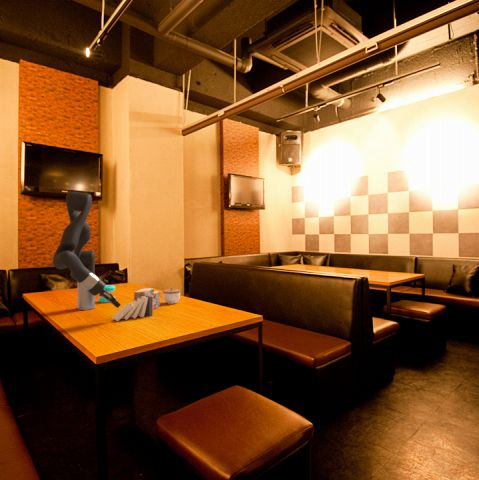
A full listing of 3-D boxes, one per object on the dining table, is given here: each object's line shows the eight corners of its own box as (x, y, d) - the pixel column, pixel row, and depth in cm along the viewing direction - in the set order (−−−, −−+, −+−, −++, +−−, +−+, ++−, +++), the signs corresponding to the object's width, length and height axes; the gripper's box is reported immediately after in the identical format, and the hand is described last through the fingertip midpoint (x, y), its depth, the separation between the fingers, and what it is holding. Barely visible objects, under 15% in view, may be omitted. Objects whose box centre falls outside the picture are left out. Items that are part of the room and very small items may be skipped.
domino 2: (120, 316, 165) (133, 300, 169) (123, 318, 166) (135, 301, 170) (124, 318, 161) (137, 301, 166) (126, 320, 162) (139, 303, 166)
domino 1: (112, 317, 163) (127, 302, 167) (114, 319, 163) (129, 305, 168) (115, 319, 159) (131, 304, 164) (117, 321, 159) (133, 306, 164)
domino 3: (128, 315, 168) (138, 297, 171) (131, 316, 169) (140, 298, 172) (132, 317, 164) (141, 298, 167) (135, 318, 165) (144, 300, 168)
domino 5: (145, 314, 173) (145, 295, 173) (148, 314, 174) (148, 295, 174) (149, 316, 169) (149, 296, 169) (152, 315, 170) (152, 296, 170)
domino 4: (137, 315, 171) (141, 295, 172) (139, 315, 172) (144, 296, 173) (140, 316, 167) (145, 297, 168) (143, 317, 168) (148, 297, 169)
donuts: (118, 284, 215) (110, 287, 205) (118, 300, 215) (110, 303, 205) (103, 284, 217) (95, 287, 207) (104, 300, 217) (95, 302, 207)
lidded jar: (160, 302, 206) (160, 287, 206) (175, 300, 212) (175, 286, 212) (167, 305, 197) (167, 289, 197) (183, 303, 204) (183, 288, 204)
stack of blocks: (149, 306, 195) (149, 285, 195) (160, 306, 194) (159, 285, 194) (134, 314, 173) (133, 291, 173) (145, 315, 173) (145, 291, 173)
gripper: (102, 278, 151) (129, 302, 159) (94, 276, 161) (119, 298, 169) (90, 291, 147) (118, 314, 155) (82, 288, 158) (108, 310, 166)
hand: (118, 306), depth 162 cm, fingers closed
